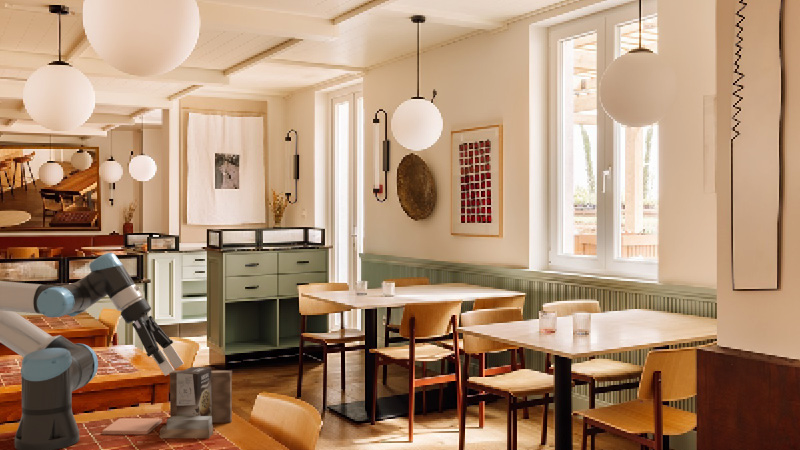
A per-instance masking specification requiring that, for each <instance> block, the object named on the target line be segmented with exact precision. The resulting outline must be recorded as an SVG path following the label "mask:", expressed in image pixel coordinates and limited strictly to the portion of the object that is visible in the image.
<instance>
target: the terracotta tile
mask: <svg viewBox="0 0 800 450" xmlns="http://www.w3.org/2000/svg"><path fill="white" fill-rule="evenodd" d="M161 423H163V419H162V418H159V417H158V418H155V417H154V418H152V417H151V418H147V417H146V418H136V417H135V418H131V417H129V418H127V417H126V418H122V417H121V418H120V417H119V418H118V419H117V420H115V421H114V422H112V423H111V424H109V425H108V426H107V427H105V428H104V429H103V430H102V435H149V433H151V432H152V431H154V429H155V428H157V427H158V426H159V425H160V424H161Z"/></svg>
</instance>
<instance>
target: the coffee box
mask: <svg viewBox="0 0 800 450" xmlns="http://www.w3.org/2000/svg"><path fill="white" fill-rule="evenodd" d="M211 371H212V367H208V366H203V367H202V366H196V367H195V366H190V367H189V368H185V369H183V371H181V372H178V373H177V416H212V398H211Z"/></svg>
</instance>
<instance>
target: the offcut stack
mask: <svg viewBox="0 0 800 450" xmlns="http://www.w3.org/2000/svg"><path fill="white" fill-rule="evenodd" d="M211 435H212V436H213V435H214V425H213V422H212V416H171V417H168V418H167V419H166V425H163V426H162V427H161V428H160V429H159V439H210V438H211V437H212V436H211ZM210 436H211V437H210Z"/></svg>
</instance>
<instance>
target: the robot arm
mask: <svg viewBox="0 0 800 450" xmlns="http://www.w3.org/2000/svg"><path fill="white" fill-rule="evenodd" d="M88 267H89V269H90V272H89V274H87V275H86V276H84V277H82V278H81V279H79V280H78V281H76V282H73V283H69V284H63V285H53V284H52V285H51V284H50V285H49V284H41V283H40V284H39V283H27V282H26V283H25V282H14V281H4V280H3V281H2V280H0V343H1V344H2V345H4V346H5V347H7V348H8V349H10V350H11V351H13V352H15V353H16V354H18V355H19V356H21V357H22V358H23V359H22V360H21V369H20V375H21V378H20V379H21V381H20V382H21V418H20V421H19V424H18V427H17V429H16V432H15V436H14V448H15V449H16V450H59V449H65V448H68V447H70V446H72V445H75V444H77V443H78V442H79V441H80V430H79V427H78V423H77V421H76V419H75V416H74V414H73V409H72V404H73V403H72V401H73V400H72V398H73V397H72V396H73V395H72V394H73V392H74V391H76V390H78V389H81V388H84V387H85V386H86V385H87V384H89V383H90V382H91V381H92V380H93V379H94V377H95V376H96V375H97V373H98V370H99V369H98V368H99V360H98V356H97V354H96V352H95V351H94V349H93V348H91V347H90V346H89V345H86V344H84V343H73V342H72V341H71V340H69V339H67V338H66V337H64V336H63V335H60V334H59V335H54V336H52V335H51V334H50V333H48V332H46V331H45V330H43V329H42V328H40V327H38V326H37V325H36V324H34V323H32V322H31V321H29V320H28V319H26V318H25V317H23V316H22V315H20V314H19V313H26V314H27V313H28V314H29V313H30V314H40V315H43V316H45V317H47V318H62V317H64V316H69V317H76V316H77V315H80V314H82V313H84V312H85V311H86V310H88V309H89V308H90V307H92V306H93V305H94V304H96V303H98V302H99V301H100V300H102V299H103V298H106V297H107V296H108V297H109V300H111V302H112V304H113V305H114V307H115V309H116V310H117V311H118V312H120V316H121V317H122V319H123V320H124V321H125V323H126V324H127V325H129V324H131V326H132V327H133V328H134V330H135V331H136V334H137V336H138V339H139V340H140V342H141V344H142V345H143V348H144V350H145V352H146V356H147V357H149V358H150V357H152V358H153V360H154V361H155V363H156V365H157V366H158V367H159V369H160V370H161V372H162V373H163V375H164V376H165V377H166V376H169V373H171V372H172V371H174V370H176V369H178V368H180V367H181V366H182V365H184V364H185V363H184V361H183V360H182V357H180V355H179V353H178V352H177V351H176V349H175V347H174V346H173V343H174V341H173V339H171V338H170V337H169V336H168V335H167V334H166V332H165V331H164V330H163V329H162V328H161V327H160V325H159V324H158V322H156V320H155V319H154V318H153V316H152V315H149V316H148V315H147V313H149V312H150V311H151V310H152V307H151V305H150V304H149V303H148V301H147V299H146V298H143V294H142V292H141V291H140V290H141V287H140V286H138V285H136V283H135V282H134V279H132V277H131V276H130V274H129V272H128V271H127V269H126V268H125V266H124V264H123V263H122V262H121V261H120V260H119V258H118V256H117V255H116V254H115V253H114V252H107V253H104V254H102V255H100V256H99V257H96V258H95V259H94V260H93V261H92V262H90V263H89V266H88ZM159 346H160V347H161V348H162V349H160V347H159Z"/></svg>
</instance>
